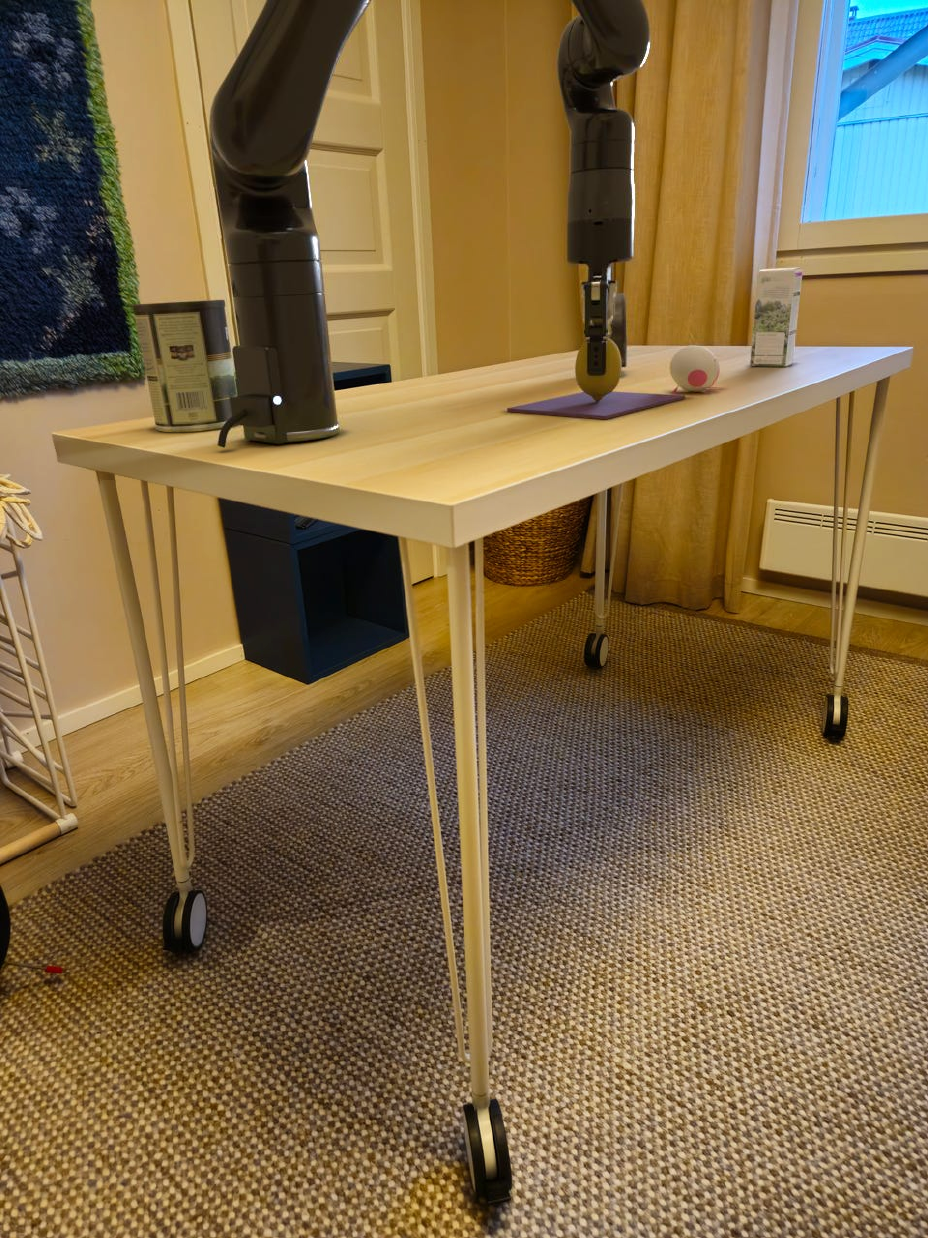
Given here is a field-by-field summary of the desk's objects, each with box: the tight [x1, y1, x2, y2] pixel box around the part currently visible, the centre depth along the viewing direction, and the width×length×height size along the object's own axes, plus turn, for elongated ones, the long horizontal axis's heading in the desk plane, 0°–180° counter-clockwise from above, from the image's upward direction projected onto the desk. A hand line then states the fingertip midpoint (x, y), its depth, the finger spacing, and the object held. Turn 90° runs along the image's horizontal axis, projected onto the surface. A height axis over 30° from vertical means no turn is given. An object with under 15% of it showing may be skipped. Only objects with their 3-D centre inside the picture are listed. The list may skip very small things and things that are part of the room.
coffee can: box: [131, 299, 238, 433], centre depth 98 cm, size 10×10×14 cm
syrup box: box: [749, 266, 803, 367], centre depth 131 cm, size 6×6×14 cm
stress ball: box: [669, 345, 721, 394], centre depth 108 cm, size 8×8×7 cm
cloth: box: [506, 390, 686, 420], centre depth 101 cm, size 18×14×1 cm
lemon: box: [574, 338, 623, 402], centre depth 100 cm, size 6×6×8 cm
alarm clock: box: [609, 264, 628, 368], centre depth 129 cm, size 11×5×16 cm, turn 168°
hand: (598, 371), depth 100 cm, fingers closed on lemon, 5 cm apart
